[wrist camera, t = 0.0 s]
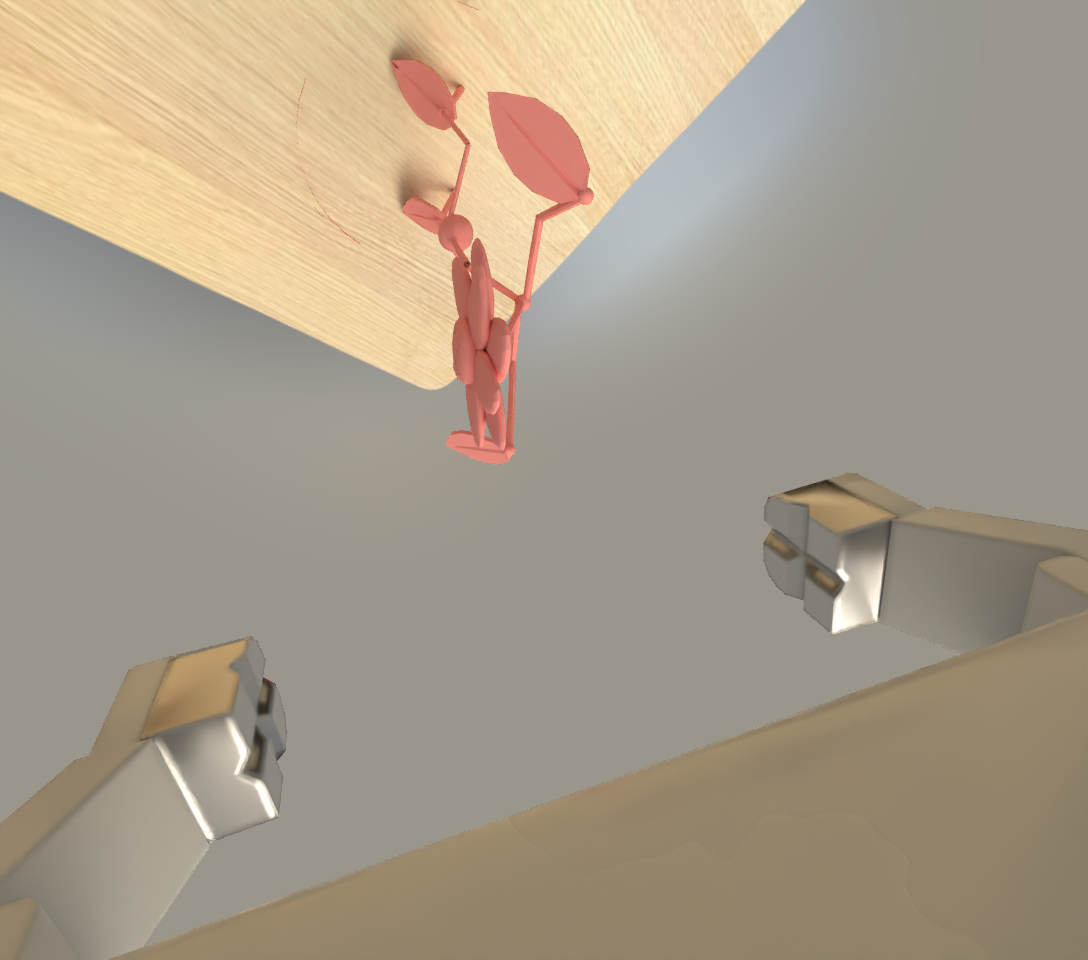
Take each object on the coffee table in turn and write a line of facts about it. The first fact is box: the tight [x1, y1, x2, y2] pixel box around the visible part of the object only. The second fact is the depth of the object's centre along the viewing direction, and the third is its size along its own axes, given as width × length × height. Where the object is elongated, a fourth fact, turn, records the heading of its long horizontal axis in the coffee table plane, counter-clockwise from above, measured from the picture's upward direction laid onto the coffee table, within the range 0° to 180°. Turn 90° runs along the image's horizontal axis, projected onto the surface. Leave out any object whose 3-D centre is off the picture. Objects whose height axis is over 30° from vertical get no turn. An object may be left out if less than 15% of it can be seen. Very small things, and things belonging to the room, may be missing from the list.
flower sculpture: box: [296, 1, 594, 464], centre depth 45 cm, size 15×26×35 cm, turn 170°
